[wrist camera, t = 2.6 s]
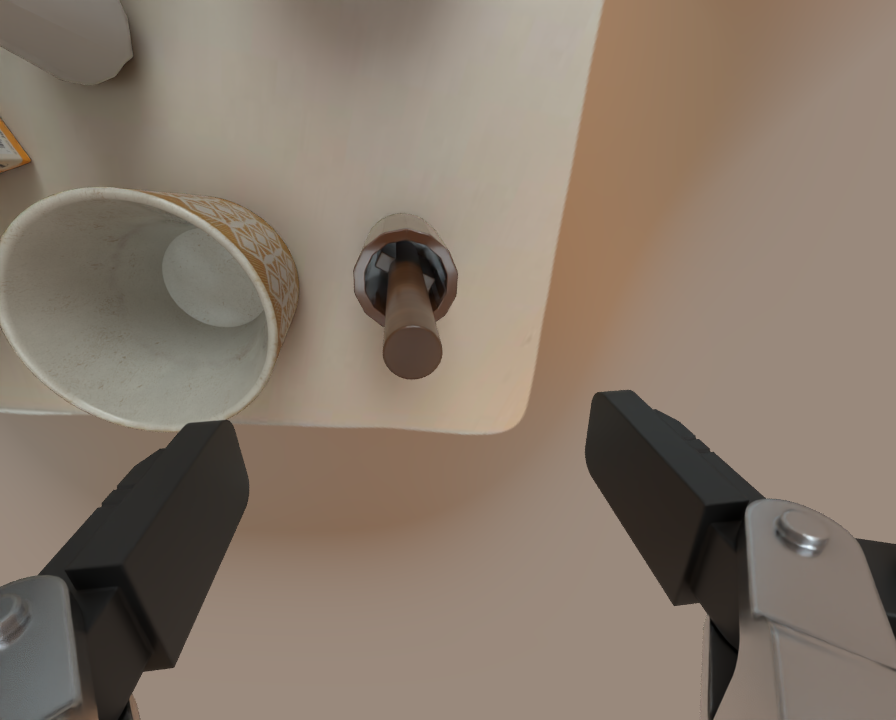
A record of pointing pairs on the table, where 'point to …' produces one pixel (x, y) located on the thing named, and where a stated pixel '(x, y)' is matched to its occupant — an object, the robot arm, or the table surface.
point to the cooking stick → (408, 312)
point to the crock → (428, 245)
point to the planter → (146, 303)
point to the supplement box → (10, 150)
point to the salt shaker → (68, 37)
